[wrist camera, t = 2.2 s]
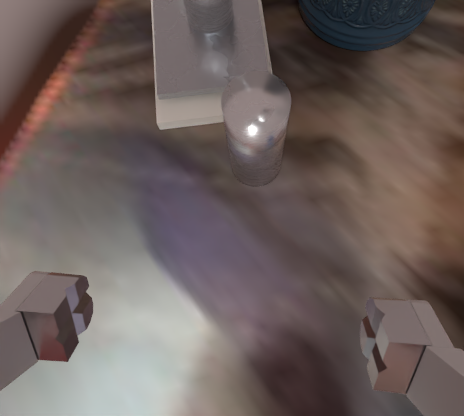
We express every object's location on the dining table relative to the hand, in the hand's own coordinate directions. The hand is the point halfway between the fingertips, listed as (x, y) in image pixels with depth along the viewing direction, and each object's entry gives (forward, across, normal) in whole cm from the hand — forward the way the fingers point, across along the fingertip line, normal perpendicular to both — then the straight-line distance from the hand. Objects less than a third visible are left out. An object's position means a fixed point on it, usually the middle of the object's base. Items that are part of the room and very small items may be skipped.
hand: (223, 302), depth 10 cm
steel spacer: (+22, 0, +4) cm, 23 cm away
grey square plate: (+29, +5, -4) cm, 30 cm away
